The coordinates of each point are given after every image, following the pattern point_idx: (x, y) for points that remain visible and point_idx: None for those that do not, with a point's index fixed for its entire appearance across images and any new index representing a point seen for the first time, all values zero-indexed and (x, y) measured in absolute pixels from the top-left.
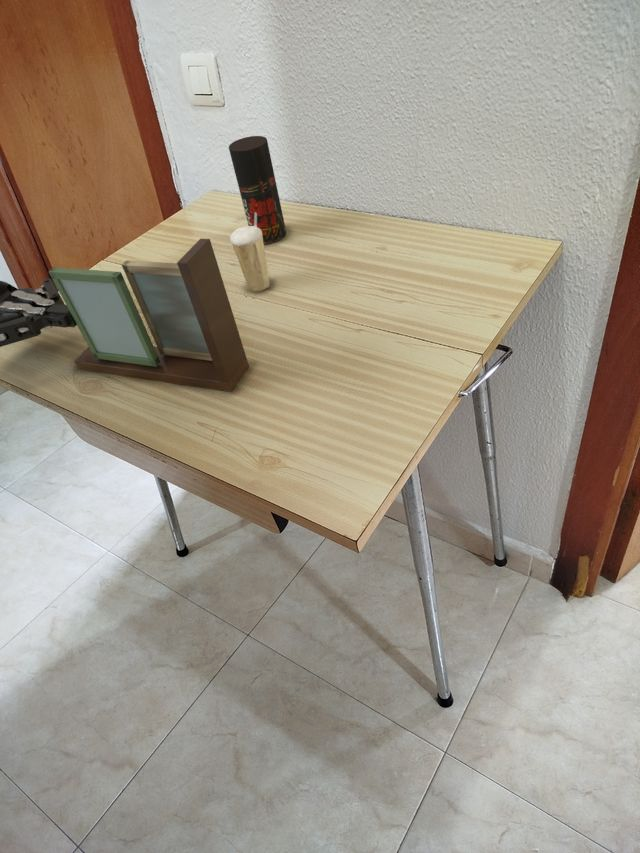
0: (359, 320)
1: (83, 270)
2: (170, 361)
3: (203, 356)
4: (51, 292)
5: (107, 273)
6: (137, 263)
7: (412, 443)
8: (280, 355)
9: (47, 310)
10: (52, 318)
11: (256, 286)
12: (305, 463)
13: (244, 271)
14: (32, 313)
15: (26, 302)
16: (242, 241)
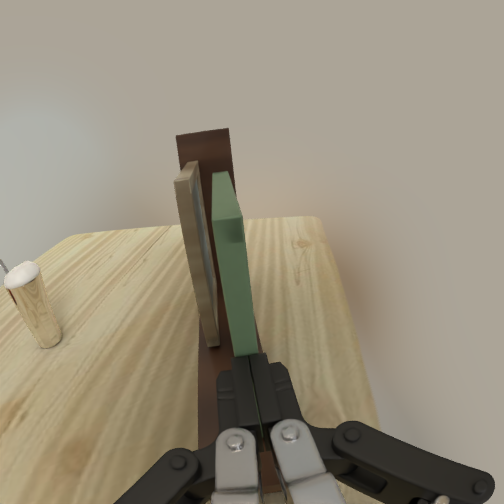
0: (131, 263)
1: (218, 187)
2: (228, 332)
3: (216, 294)
4: (164, 485)
5: (220, 175)
6: (185, 174)
7: (251, 220)
8: (182, 281)
9: (278, 413)
10: (294, 394)
11: (59, 329)
12: (291, 235)
13: (45, 318)
14: (318, 451)
15: None
16: (36, 268)
